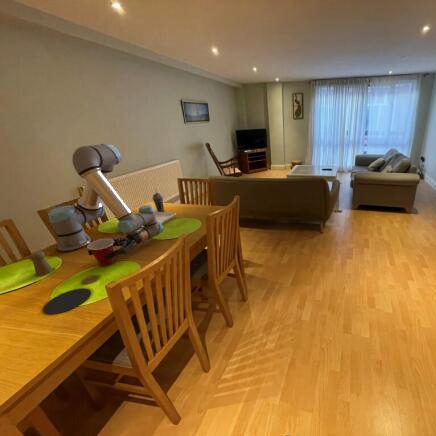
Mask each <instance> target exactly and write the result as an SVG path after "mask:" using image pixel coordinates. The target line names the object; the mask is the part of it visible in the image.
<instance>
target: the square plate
mask: <svg viewBox="0 0 436 436" xmlns="http://www.w3.org/2000/svg"><path fill="white" fill-rule="evenodd" d="M176 215H177V213H176V212H166V211H164V212H158V211H155V216H156V220H157V222H160V223H161V224H162V225H163V224H165V223H166V222H168V221H170V220H171V219H172V218H174V217H175V216H176ZM143 227H144V226H141V227H139V228H138V229H141V228H143ZM138 229H137V230H138Z"/></svg>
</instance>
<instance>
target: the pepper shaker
mask: <svg viewBox="0 0 436 436" xmlns="http://www.w3.org/2000/svg"><path fill="white" fill-rule="evenodd" d="M45 256H46V255H45V252H43V251H35V252H32V253H31V254H29V255H28V259H29V260H30V261H31V262H32V264H33V268H34V271H35V275H36V276H37V277H43V276H46V275H49V274H51V273H52V272H53V271H54V268H53V267H52V266H51V264H50V263H49V262H48V260H47V259H46V258H45Z"/></svg>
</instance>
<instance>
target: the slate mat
mask: <svg viewBox="0 0 436 436" xmlns="http://www.w3.org/2000/svg"><path fill="white" fill-rule="evenodd" d="M91 295H92V291H91V290H90V289H89V288H75V289H70V290H68V291H66V292H63V293H60V294H59V295H56V296H55V297H53V298H51V299H50V300H49V301H48V302H47V303H45V304H44V306H43V309H42V311H43V313H44V314H47V315H59V314H62V313H65V312H68V311H71V310H73V309H76V308H77V307H79V306H81V305H82V304H84V303H85V302H86V301H87V300H89V298H90V297H91Z"/></svg>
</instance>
